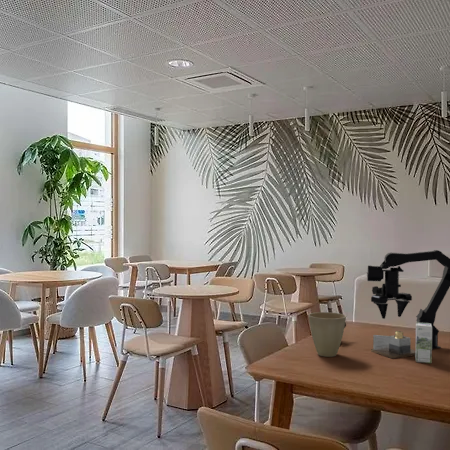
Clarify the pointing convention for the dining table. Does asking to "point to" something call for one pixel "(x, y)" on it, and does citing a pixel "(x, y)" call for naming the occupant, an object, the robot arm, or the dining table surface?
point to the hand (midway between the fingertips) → (391, 317)
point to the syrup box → (423, 343)
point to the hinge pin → (398, 334)
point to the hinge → (392, 346)
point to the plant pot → (327, 332)
